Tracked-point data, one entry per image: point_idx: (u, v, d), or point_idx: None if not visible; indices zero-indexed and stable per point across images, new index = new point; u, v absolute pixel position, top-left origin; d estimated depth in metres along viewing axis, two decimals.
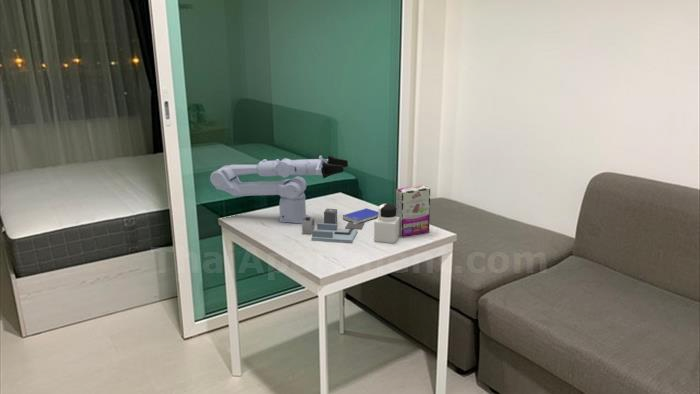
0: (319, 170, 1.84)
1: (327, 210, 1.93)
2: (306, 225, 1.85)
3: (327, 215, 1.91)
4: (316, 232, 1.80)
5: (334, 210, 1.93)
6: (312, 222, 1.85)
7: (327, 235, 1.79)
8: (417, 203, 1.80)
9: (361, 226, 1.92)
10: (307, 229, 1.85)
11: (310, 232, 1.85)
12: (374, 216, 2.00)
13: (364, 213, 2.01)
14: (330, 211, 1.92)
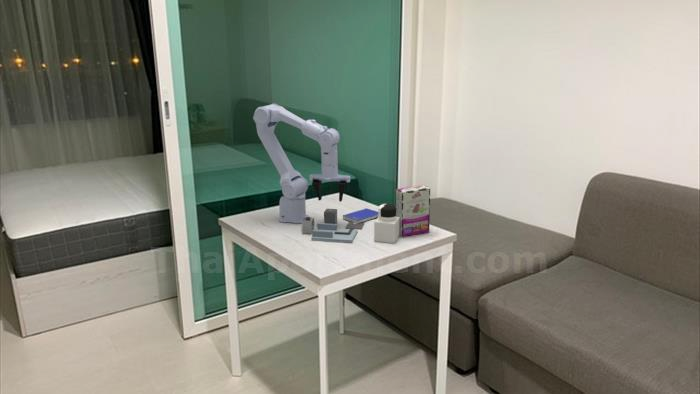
0: None
1: (327, 210, 1.93)
2: (306, 225, 1.85)
3: (327, 215, 1.91)
4: (316, 232, 1.80)
5: (334, 210, 1.93)
6: (312, 222, 1.85)
7: (327, 235, 1.79)
8: (417, 203, 1.80)
9: (361, 226, 1.92)
10: (307, 229, 1.85)
11: (310, 232, 1.85)
12: (374, 216, 2.00)
13: (364, 213, 2.01)
14: (330, 211, 1.92)
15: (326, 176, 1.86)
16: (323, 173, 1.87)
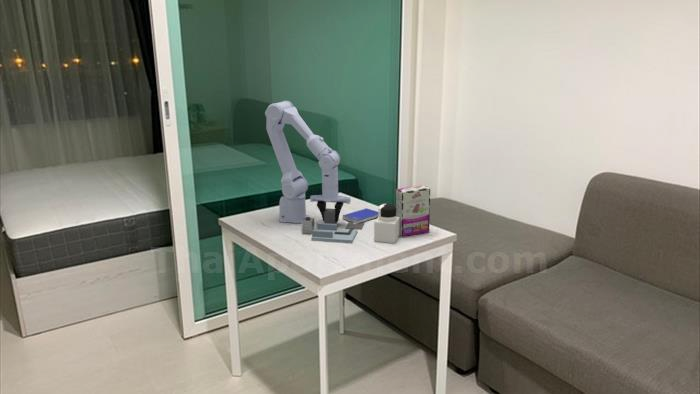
0: None
1: (327, 210, 1.93)
2: (306, 225, 1.85)
3: (327, 215, 1.91)
4: (316, 232, 1.80)
5: (334, 210, 1.93)
6: (312, 222, 1.85)
7: (327, 235, 1.79)
8: (417, 203, 1.80)
9: (361, 226, 1.92)
10: (307, 229, 1.85)
11: (310, 232, 1.85)
12: (374, 216, 2.00)
13: (364, 213, 2.01)
14: (330, 211, 1.92)
15: (326, 198, 1.89)
16: (324, 195, 1.89)
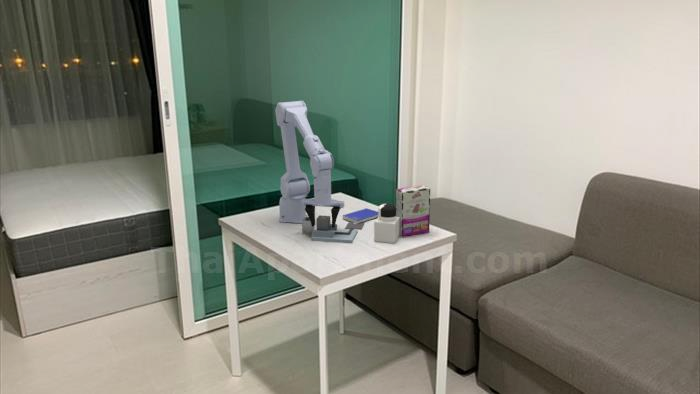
0: None
1: (320, 217, 1.83)
2: (306, 225, 1.84)
3: (320, 222, 1.81)
4: (316, 232, 1.80)
5: (327, 217, 1.83)
6: None
7: (327, 235, 1.79)
8: (417, 203, 1.80)
9: (361, 226, 1.92)
10: (307, 229, 1.85)
11: (310, 232, 1.85)
12: (374, 216, 2.00)
13: (364, 213, 2.01)
14: (323, 218, 1.81)
15: (319, 202, 1.78)
16: (316, 199, 1.78)
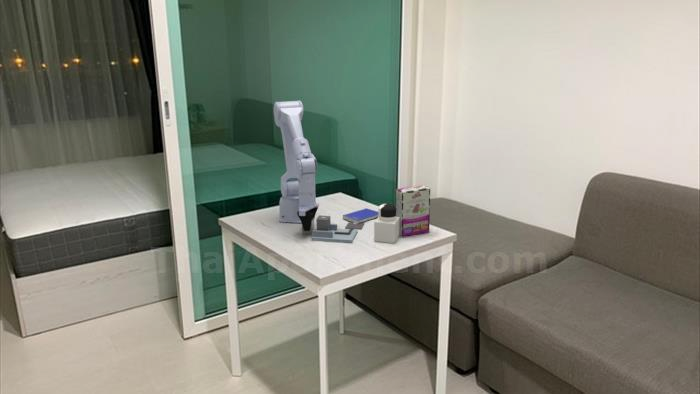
0: (303, 214, 1.77)
1: (320, 217, 1.83)
2: None
3: (320, 222, 1.81)
4: (316, 232, 1.80)
5: (327, 217, 1.83)
6: (312, 222, 1.85)
7: (327, 235, 1.79)
8: (417, 203, 1.80)
9: (361, 226, 1.92)
10: None
11: (310, 232, 1.85)
12: (374, 216, 2.00)
13: (364, 213, 2.01)
14: (323, 218, 1.81)
15: (314, 203, 1.83)
16: (312, 202, 1.81)
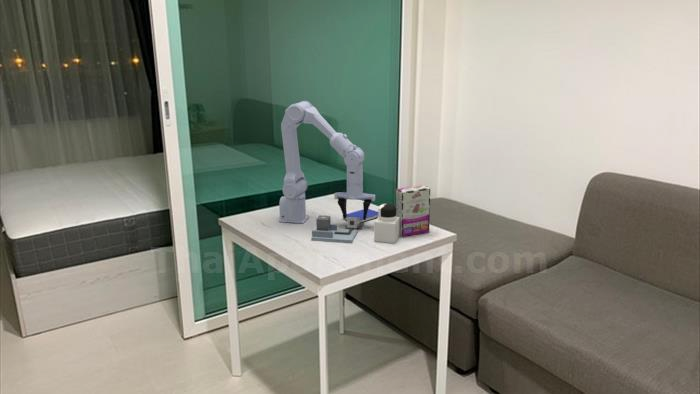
0: (334, 197, 1.90)
1: (320, 217, 1.83)
2: None
3: (320, 222, 1.81)
4: (316, 232, 1.80)
5: (327, 217, 1.83)
6: (350, 227, 1.87)
7: (327, 235, 1.79)
8: (417, 203, 1.80)
9: (361, 226, 1.92)
10: None
11: None
12: (374, 216, 2.00)
13: None
14: (323, 218, 1.81)
15: (351, 195, 1.86)
16: (348, 192, 1.87)
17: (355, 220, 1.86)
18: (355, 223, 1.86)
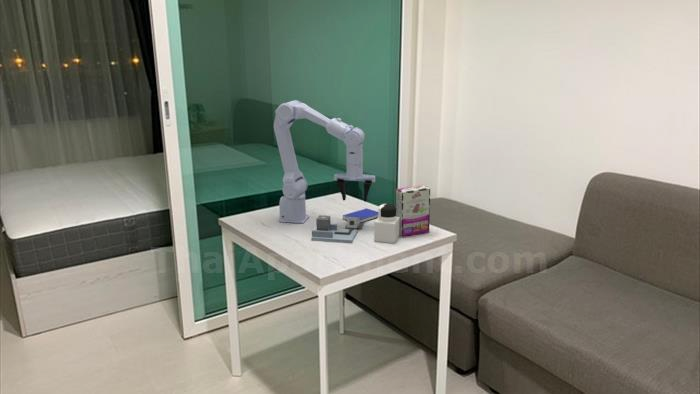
0: (334, 178, 1.88)
1: (320, 217, 1.83)
2: None
3: (320, 222, 1.81)
4: (316, 232, 1.80)
5: (327, 217, 1.83)
6: (350, 227, 1.87)
7: (327, 235, 1.79)
8: (417, 203, 1.80)
9: (361, 226, 1.92)
10: None
11: None
12: (374, 216, 2.00)
13: (364, 213, 2.01)
14: (323, 218, 1.81)
15: (351, 176, 1.84)
16: (348, 173, 1.85)
17: (355, 220, 1.86)
18: (355, 223, 1.86)
